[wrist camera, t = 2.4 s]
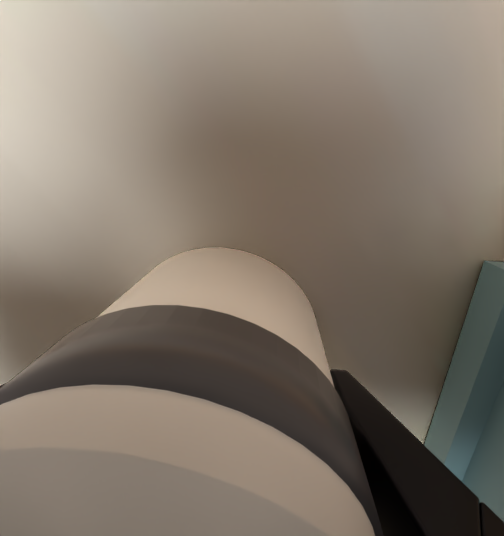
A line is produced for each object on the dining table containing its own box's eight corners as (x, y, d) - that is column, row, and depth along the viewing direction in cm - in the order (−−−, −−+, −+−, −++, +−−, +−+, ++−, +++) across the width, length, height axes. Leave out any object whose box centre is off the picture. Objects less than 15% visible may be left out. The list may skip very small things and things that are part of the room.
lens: (310, 421, 10) (360, 767, 4) (136, 406, 10) (-36, 706, 5) (333, 249, 8) (498, 478, 2) (112, 238, 8) (-265, 407, 2)
